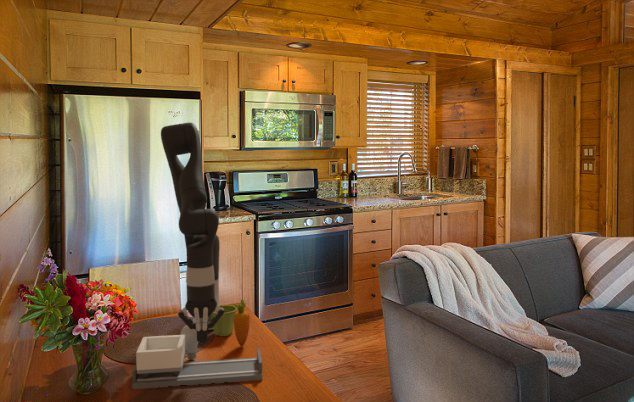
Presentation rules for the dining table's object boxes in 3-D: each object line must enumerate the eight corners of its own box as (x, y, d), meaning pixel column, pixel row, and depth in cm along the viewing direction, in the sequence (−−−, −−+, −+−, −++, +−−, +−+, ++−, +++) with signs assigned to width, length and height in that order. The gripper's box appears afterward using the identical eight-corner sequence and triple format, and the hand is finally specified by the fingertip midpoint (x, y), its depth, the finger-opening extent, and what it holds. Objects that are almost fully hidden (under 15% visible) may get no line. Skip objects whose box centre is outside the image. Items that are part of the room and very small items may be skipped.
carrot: (241, 350, 160) (241, 304, 159) (230, 347, 163) (230, 301, 162) (253, 346, 164) (252, 300, 163) (241, 342, 167) (241, 297, 166)
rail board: (140, 370, 146) (139, 354, 146) (259, 362, 152) (259, 347, 152) (132, 389, 135) (131, 373, 134) (262, 380, 140) (262, 364, 140)
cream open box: (144, 363, 146) (143, 336, 145) (185, 360, 148) (184, 334, 147) (137, 381, 135) (136, 352, 134) (181, 378, 137) (181, 349, 136)
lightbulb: (204, 356, 156) (204, 321, 155) (198, 364, 150) (197, 328, 149) (185, 355, 157) (184, 320, 156) (178, 363, 151) (177, 327, 150)
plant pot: (206, 331, 178) (205, 306, 177) (233, 327, 182) (232, 303, 181) (212, 340, 170) (212, 314, 169) (240, 335, 173) (240, 310, 173)
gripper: (225, 277, 146) (226, 336, 148) (176, 279, 143) (178, 339, 145) (225, 284, 138) (226, 346, 140) (174, 286, 136) (176, 349, 138)
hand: (202, 342), depth 143 cm, fingers closed
